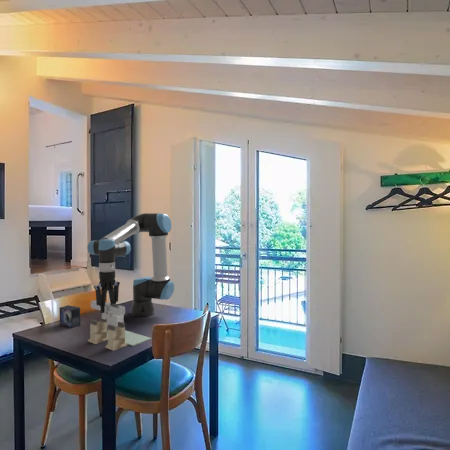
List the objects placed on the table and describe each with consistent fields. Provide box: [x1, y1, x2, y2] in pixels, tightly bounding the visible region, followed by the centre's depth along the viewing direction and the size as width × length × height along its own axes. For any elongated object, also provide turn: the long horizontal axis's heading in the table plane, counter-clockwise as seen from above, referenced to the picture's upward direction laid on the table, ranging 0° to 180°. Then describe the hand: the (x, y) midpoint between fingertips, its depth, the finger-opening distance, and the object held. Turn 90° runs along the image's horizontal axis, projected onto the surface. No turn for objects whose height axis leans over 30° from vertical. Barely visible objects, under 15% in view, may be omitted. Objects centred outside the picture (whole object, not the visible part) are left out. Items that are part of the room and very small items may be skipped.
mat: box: [107, 329, 152, 347], centre depth 183 cm, size 12×26×1 cm, turn 55°
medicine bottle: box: [107, 303, 125, 328], centre depth 202 cm, size 7×7×12 cm
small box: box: [58, 304, 81, 329], centre depth 201 cm, size 11×6×10 cm, turn 62°
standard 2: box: [105, 322, 128, 352], centre depth 170 cm, size 8×6×11 cm
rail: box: [90, 299, 126, 316], centre depth 174 cm, size 22×4×4 cm, turn 55°
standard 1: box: [87, 316, 108, 345], centre depth 178 cm, size 8×6×11 cm
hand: (107, 317), depth 174 cm, fingers closed on rail, 3 cm apart
